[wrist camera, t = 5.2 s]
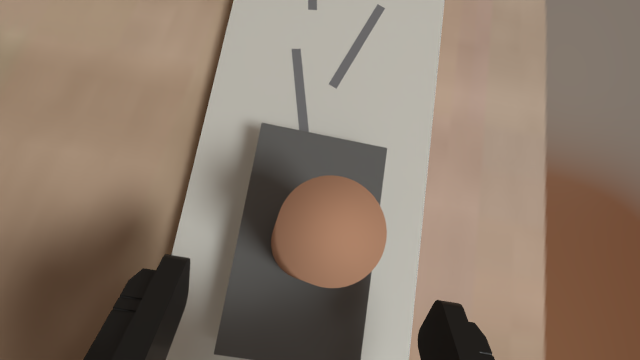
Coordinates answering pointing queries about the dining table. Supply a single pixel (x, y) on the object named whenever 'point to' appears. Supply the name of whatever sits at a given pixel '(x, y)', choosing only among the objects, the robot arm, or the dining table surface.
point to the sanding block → (305, 249)
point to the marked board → (321, 118)
